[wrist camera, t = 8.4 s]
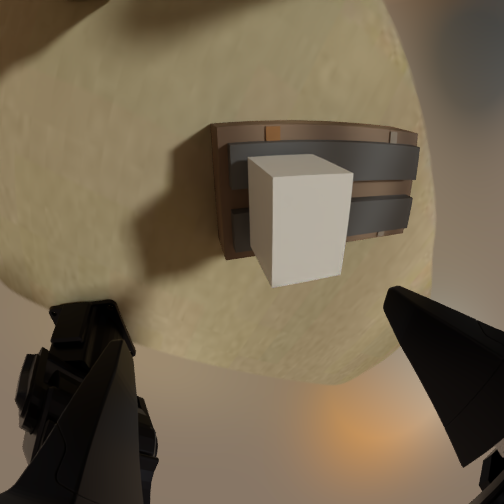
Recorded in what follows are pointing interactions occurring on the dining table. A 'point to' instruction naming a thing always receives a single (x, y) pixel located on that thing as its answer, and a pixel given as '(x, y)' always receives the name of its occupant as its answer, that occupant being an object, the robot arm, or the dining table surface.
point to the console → (326, 147)
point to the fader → (298, 216)
